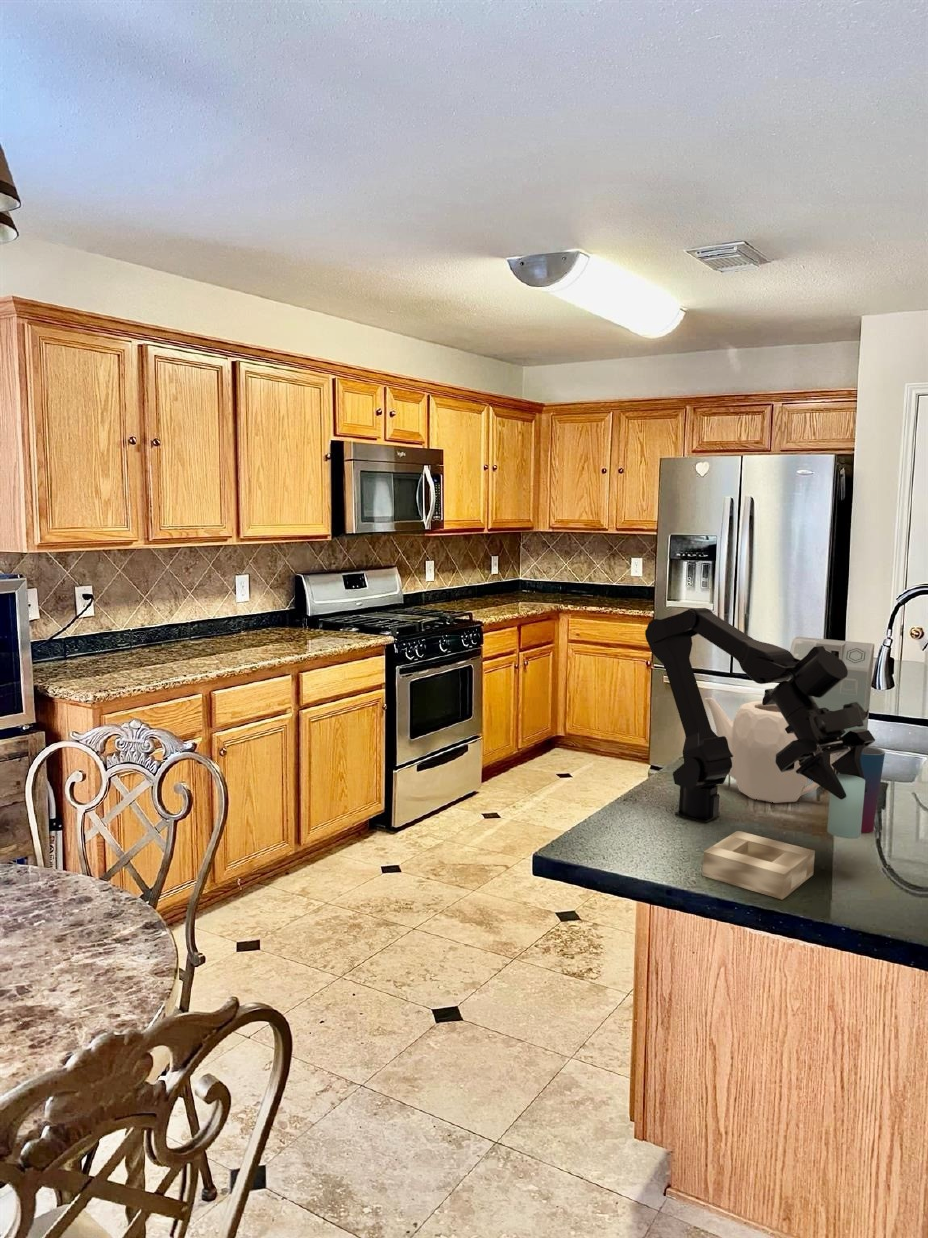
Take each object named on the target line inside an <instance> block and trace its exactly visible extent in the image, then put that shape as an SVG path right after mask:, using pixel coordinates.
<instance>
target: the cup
mask: <svg viewBox="0 0 928 1238" xmlns="http://www.w3.org/2000/svg"><path fill="white" fill-rule="evenodd" d="M885 755H886V751H885V750H884V749H882V748H879V747H875V746H871V745H869V746H868V747H866V748H865V749H864V750H863V751H862V753H861V757H860V761H861V767H862V771H863V775H864V779H865V782H866V786H867V790H868V791H867V793H865V794H864V803H863V814H862V825H861V834H869V833H873V831H874V825H875V819H876V812H877V806H878V801H879V793H880V787H881V782H882V774H883V770H884V769H883V768H884V761H885Z"/></svg>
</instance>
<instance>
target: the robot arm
mask: <svg viewBox="0 0 928 1238" xmlns="http://www.w3.org/2000/svg"><path fill="white" fill-rule="evenodd" d="M644 634H645V639H646V641H647V644H648V646H649V649H650V651H651V653H652V655H653V656H654V657H655V658H656V659H658V661H659V662H660V663H661V664H662V665H663V667H664V668H665V669H664V670H665V672H666V676H667V679H668V682H669V685H670V689H671V692H672V695H673V698H674V702H675V705H676V710H677V713H678V716H679V719H680V722H681V725H682V728H683V733H684V735H685V736H684V738H685V740H684V744H683V748H682V759H683V763H682V764H681V765H680V766H678V767H677V768H676V770H674V771H673V772H672V777H673V783H674V784H675V785H676V786H678V787H679V797H678V798H679V799H678V801H679V804H678V810H676V811H675V812H674V816H676V817H680V818H685V819H688V820H691V821H692V820H693V821H697V822H700V823H704V824H707V823H708V822H710V821H711V820H714V819H715V818H717V817H719V816H721V814H720V811H719V810H720V794H719V793H718V790H719V788H718V787H719V785H724V784H725V781H726V779H727V776H729V775H728V774H729V772H730V769H731V768H732V760H731V757H733V755H732V754H731V752H730V750H729V746H728V741H727V739H726V737H725V736H721V737H718V736H717V733H715V731H713V729H712V727H711V724H710V720H709V717H708V713H707V711H706V708H705V705H704V701H703V698H702V693H701V692H700V687H699V685H698V682H697V679H696V675H695V673H694V669H693V665H692V662H691V659H690V656H691V654H692V653H691V652H692V648H693V638H692V637H695V636H697V635H699V636H701V637H702V638H704V639H705V640H707V641H708V642H710V643H711V644H712V645H715V646H716V647H718V648H719V649H720V650H721V651H724V652H725V653H726V654H727V655H729V656H731V657H732V658H734V659H735V660H736V661H737V662H738V663H739V666H740V669H741V670H742V672H743V673H745V674H746V675H747V676H748V677H749V679H751V680H752V681H753V682H754V683H756V684H759V685H765V684H773V683H774V684H775V683H778V684H777V685H775V686H774V687H773V688H768V689H767V688H766V689H764V695H763V698H762V700H761V701H762V704H763V705H771V704H776V706H777V707H778V709H779V711H780V712H781V714H782V715H783V717H784V719H785V720H786V722H787V723H788V725H789V726H787V727H786V728H785V730H786V732H787V733H788V734H790V733H794V735H795V736H796V738H797V739H798V740H794V741H792V742H791V743H790V744H788V745H787V746H786V747H785V748H783V749H782V750H781V751H780V752H778V753H777V754H776V758H775V763H776V765H777V766H778V768H779V770H780V771H781V772H785V771H790V770H793V769H794V762H796V761H797V760H798V761H799V765H800V768H798V769H797V770H796V773H797V774H802V775H803V776H805V777H807V778H808V779H809V780H810V781H811V782H812V783H813V782H815V783H817V784H818V785H820V786H819V787H821V788H823V789H824V790H826V791H827V792H829V794H830V793H832V794H833V795H835V796H836V797H838V798H839V799H841V800H842V799H844V798H845V797H846V793H845V791H844V789H843V787H842V785H841V783H840V781H839V780H838V778H837V776H836V774H835V772H834V770H833V769H832V767H831V765H832V766H833V767H834V768H835V769H836V770H837V771H838V772H839V773H840V774H847V775H853V776H857V777H860V778H863V779H864V775H863V771H862V767H861V761H860V757H861V753H862V751H863V750H864V749H865V748H866V747H868V746H871V745H872V744H873V743H874V742H876V739H875V737H874V736H873V734H872V733H871V731H870V730H869V729H867V730H865V729H857V730H852V731H849V732H848V733H846V732H845V730H844V729H847V728H852V727H855V726H858V727H861V726H864V724H863V720H865V718H866V712H865V711H864V710H863V708H862V707H861V706H860V705H859V704H858V702H853V703H850V704H845V705H843V709H840V710H836V711H833V712H830V711H829V709H827V708H819V707H818V705H817V704H816V702H815V700H814V699H813V697H812V696H814V697H818V698H820V697H823V696H824V695H825V694H826V693H828V692H829V691H830V690H831V689H832V688H834V687H835V686H836V685H837V684H838V683H840V682H841V681H842V680H843V679H844V678H846V677H847V675H848V671H847V667H846V665H845V664H844V662H843V661H842V660H841V659H839V658H838V657H837V656H835V655H834V654H832V653H831V652H828V651H826V650H825V648H824V647H823V646H815V647H813V648H812V649H811V650H810V651H809V653H808V654H807V655H806V656H805V657H804V658H803V659H802V660H800V659H797V658H795V657H794V656H793V655H792V654H791V653H790V651H789V649H785V648H783V647H780V646H778V645H775V644H772V643H768V642H764V641H760V640H757V639H754V638H752V637H751V636H750V635H748V634H747V633H745V632H743V631H741V630H740V629H739V628H737V627H735V626H734V625H732V624H730V623H729V622H727V621H725V620H724V619H722V618H721V617H719V616H718V615H716V614H714V613H713V611H711V609H710V608H706V607H697V608H696V607H695V608H689V609H687V610H684V611H682V612H680V613H677V614H675V615H671V616H668V617H662V618H661V617H659V618H654V619H651V620H650V621H649V622H648V623H647V625H646V629H645V631H644ZM792 676H793V677H792ZM791 677H792V678H791ZM790 678H791V679H790ZM789 679H790V680H789ZM786 680H789V681H786ZM844 733H846V734H845V735H844V736H842V735H843V734H844ZM839 736H842V737H841V738H840V739H838V737H839ZM829 747H830V748H829ZM830 754H832V756H833V757H834V759H835V760H836V761H835V762H834V763H832V764H831V765H830ZM864 780H865V779H864ZM867 791H868V790H867V786H866V782H865V791H864V794H865V793H867Z"/></svg>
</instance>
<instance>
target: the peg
mask: <svg viewBox="0 0 928 1238" xmlns="http://www.w3.org/2000/svg"><path fill="white" fill-rule="evenodd" d="M836 776H837V778H838V780H839V781H840V783H841V785H842V787H843V789H844V791H845V793H846V797H845V798H844V799H842V800H841V799H839V798H838V797H836V796H835V795H833V794H832V793H830V792H829V802H828V814H827V815H828V817H827V825H826V826H827V827H826V831H827V833H828V834H830V835H831V836H834V837H838V838H841V839H853V840H854V839H859V838H860V837H862V833H861V825H862V814H863V803H864V791H865V780H864V779H863V778H860V777H857V776H853V775H847V774H836Z"/></svg>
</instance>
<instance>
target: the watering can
mask: <svg viewBox="0 0 928 1238" xmlns="http://www.w3.org/2000/svg"><path fill="white" fill-rule="evenodd" d="M704 701H705V702H706V703H707V705H708V707H709V709H710V711H711V716H712V719H713V722H714V725H715V731H716V735H717V736H718V737H721V736H725V737H726V739H727V741H728V746H729V750H730V752H731V754H732V755H733V757H731V760H732V768H731V769H730V772H729V774H728V775H727V776H730V777H731V778H733V779H734V780H736V784H737V787H738V791H739V792H740V793H742V794H744V795H745V796H747V797H749V798H750V799H752V800H756V799H757V800H756V801H758V800H759V801H764V802H768V803H769V802H770V803H772V802H773V804H781V803H794V802H797V801H798V800H799V798H800V797H801V796H802V795H806V794H809V793H811V792H814V791H816V789H818V788H819V787H821V786H820V785H818V784H817V783H815V782H813V781H812V783H810V784H808V785H806V784H807V782H808V778H807V777H805V776H803V775H802V774H797V773H796V770H797V769H798V768H800V765H799V761H798V760H797V761H796V762H794V769H793V770H790V771H785V772H781V771H780V770H779V768H778V766H777V765H776V763H775V758H776V754H777V753H778V752H780V751H781V750H782V749H783V748H785V747H786V746H787V745H788V744H790V743H791V742H792V741H794V740H798V739H797V738H796V736H795V735H794V733H790V734H788V733H787V732H786V730H785V728H786V727H787V726H789V725H788V723H787V722H786V720H785V719H784V717H783V715H782V714H781V712H780V711H779V709H778V707H777V706H776V704H771V705H763V704H762V701H763V700H754V701H750V702H746V703H745V702H744V703H742V704H741V705H740V707H738V710H737V711H736V713H735V715H734V716H735V717H734V719H733V721H732V720H731V719H730V718H729V717H728V715H727V714H726V712H725V711H724V710H723V709H722V707H721V706H720V704H718V702H717V701H716V700H715V699H714V698H713V697H706V698H704ZM829 748H830V747H829ZM834 762H835V759H834V757H833V756H832V754H830V765H831V764H832V763H834ZM831 767H832V769H833V766H832V765H831Z"/></svg>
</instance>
